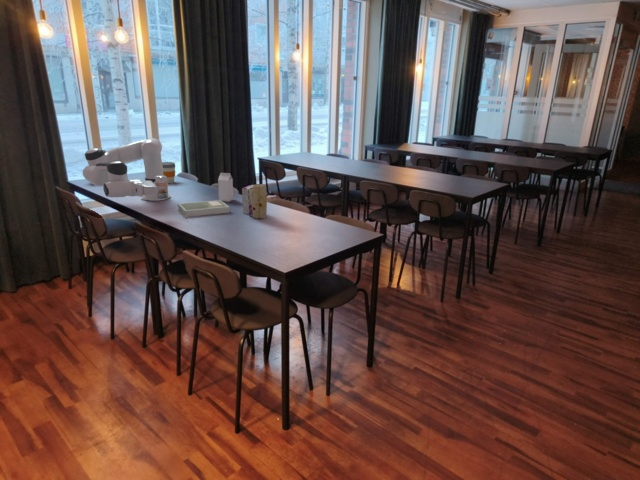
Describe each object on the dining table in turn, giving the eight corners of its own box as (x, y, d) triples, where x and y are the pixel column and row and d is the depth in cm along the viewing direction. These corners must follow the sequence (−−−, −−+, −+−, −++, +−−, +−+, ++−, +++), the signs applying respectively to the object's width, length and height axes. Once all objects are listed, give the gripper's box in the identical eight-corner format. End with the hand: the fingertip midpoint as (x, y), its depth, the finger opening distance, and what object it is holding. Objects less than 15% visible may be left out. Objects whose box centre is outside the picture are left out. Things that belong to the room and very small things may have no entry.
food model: (262, 215, 253) (262, 182, 247) (269, 218, 249) (269, 184, 242) (249, 218, 247) (248, 184, 240) (256, 220, 242) (255, 186, 236)
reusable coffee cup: (161, 180, 339) (160, 162, 334) (178, 181, 340) (176, 162, 336) (157, 183, 327) (156, 164, 322) (174, 184, 329) (173, 164, 324)
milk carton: (229, 203, 279) (228, 174, 273) (218, 202, 280) (217, 173, 274) (233, 200, 285) (232, 172, 279) (223, 199, 287) (222, 171, 281)
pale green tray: (178, 211, 256) (177, 203, 254) (220, 207, 268) (220, 200, 267) (185, 218, 241) (185, 211, 240) (229, 214, 254) (229, 206, 252)
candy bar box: (251, 210, 263) (250, 184, 258) (258, 211, 261) (258, 185, 256) (242, 214, 253) (241, 187, 248) (249, 216, 251) (249, 188, 246)
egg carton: (208, 208, 260) (207, 201, 259) (217, 207, 263) (217, 201, 262) (212, 212, 252) (212, 205, 251) (222, 211, 255) (222, 204, 254)
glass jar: (156, 196, 241) (154, 175, 237) (167, 196, 244) (165, 175, 240) (158, 199, 236) (156, 177, 232) (169, 198, 239) (167, 177, 235)
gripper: (134, 189, 241) (160, 187, 248) (140, 197, 224) (167, 195, 231) (133, 178, 239) (159, 177, 246) (139, 185, 222) (166, 183, 229)
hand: (163, 186), depth 238 cm, fingers closed on glass jar, 6 cm apart
